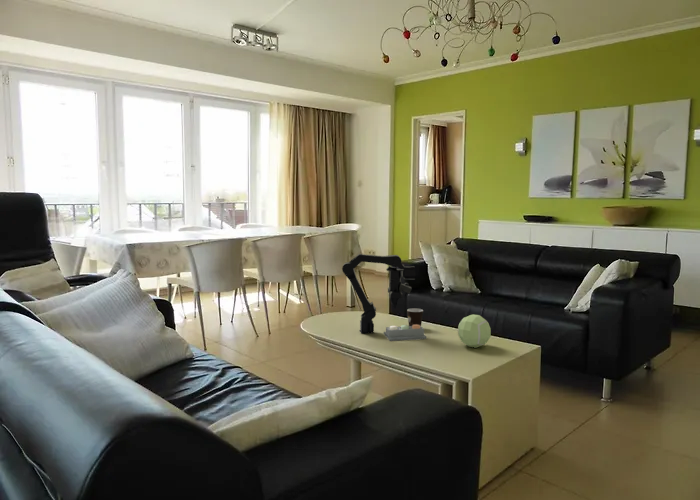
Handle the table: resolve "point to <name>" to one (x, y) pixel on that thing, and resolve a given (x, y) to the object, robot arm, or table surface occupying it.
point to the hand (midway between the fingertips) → (394, 308)
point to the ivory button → (393, 327)
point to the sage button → (404, 327)
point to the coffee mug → (414, 316)
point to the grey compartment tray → (405, 334)
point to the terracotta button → (416, 326)
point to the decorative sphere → (474, 331)
